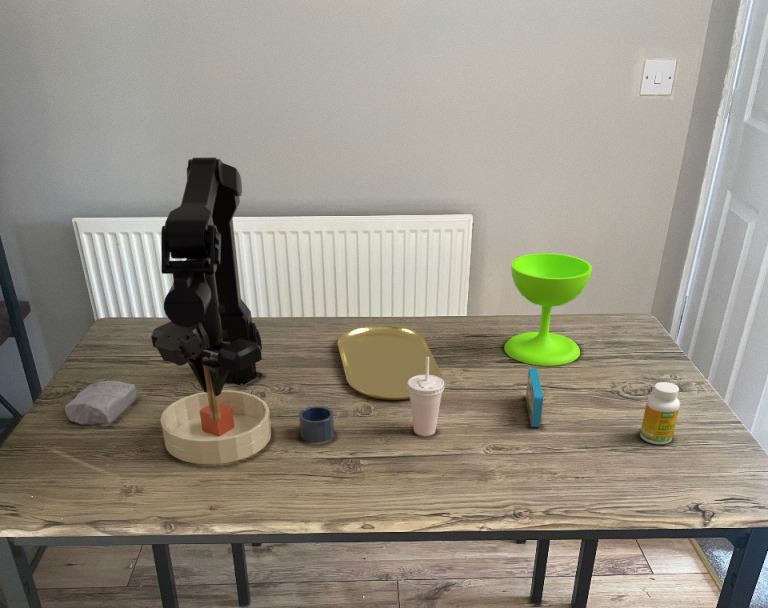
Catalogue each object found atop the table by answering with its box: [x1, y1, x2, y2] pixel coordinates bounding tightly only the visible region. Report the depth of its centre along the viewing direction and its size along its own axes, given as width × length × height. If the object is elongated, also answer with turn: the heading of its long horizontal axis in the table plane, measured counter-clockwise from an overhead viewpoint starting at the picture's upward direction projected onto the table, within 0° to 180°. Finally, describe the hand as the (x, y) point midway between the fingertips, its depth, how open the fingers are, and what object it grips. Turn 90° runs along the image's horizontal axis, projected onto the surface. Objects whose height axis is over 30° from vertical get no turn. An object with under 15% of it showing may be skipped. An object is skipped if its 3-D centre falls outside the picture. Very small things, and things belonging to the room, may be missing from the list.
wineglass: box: [503, 252, 593, 367], centre depth 165 cm, size 16×16×18 cm
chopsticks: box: [201, 357, 221, 421], centre depth 132 cm, size 1×2×11 cm, turn 57°
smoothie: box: [407, 357, 445, 437], centre depth 138 cm, size 6×6×14 cm
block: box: [200, 403, 234, 437], centre depth 141 cm, size 4×4×4 cm
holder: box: [298, 405, 335, 444], centre depth 139 cm, size 6×6×4 cm
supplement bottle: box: [639, 381, 681, 445], centre depth 137 cm, size 5×5×10 cm
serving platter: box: [337, 324, 442, 401], centre depth 164 cm, size 19×35×2 cm, turn 9°
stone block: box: [64, 380, 138, 426], centre depth 148 cm, size 12×5×10 cm
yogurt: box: [525, 368, 544, 428], centre depth 146 cm, size 12×2×6 cm, turn 176°
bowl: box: [159, 389, 272, 465], centre depth 138 cm, size 18×18×5 cm
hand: (212, 393), depth 132 cm, fingers closed on chopsticks
